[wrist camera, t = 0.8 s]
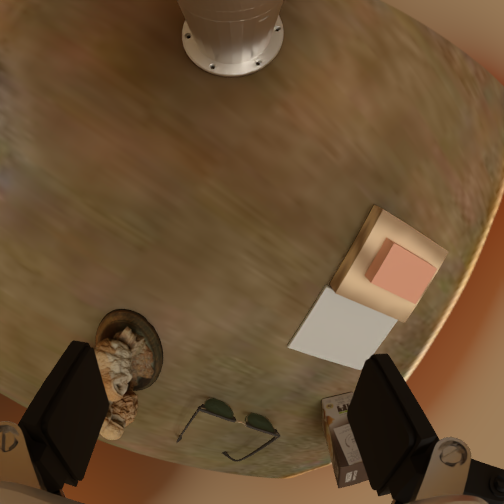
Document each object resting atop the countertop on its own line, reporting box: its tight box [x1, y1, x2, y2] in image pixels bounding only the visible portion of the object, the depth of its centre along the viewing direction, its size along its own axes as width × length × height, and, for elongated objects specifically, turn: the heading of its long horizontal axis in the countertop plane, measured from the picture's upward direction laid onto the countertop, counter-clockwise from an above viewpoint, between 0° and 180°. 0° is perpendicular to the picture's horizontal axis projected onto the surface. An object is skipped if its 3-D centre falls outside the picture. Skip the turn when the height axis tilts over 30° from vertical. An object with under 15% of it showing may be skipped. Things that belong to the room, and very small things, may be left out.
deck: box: [330, 205, 448, 323], centre depth 42 cm, size 13×14×3 cm
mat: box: [287, 285, 397, 370], centre depth 47 cm, size 12×15×1 cm
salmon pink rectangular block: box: [364, 237, 437, 304], centre depth 40 cm, size 6×9×2 cm, turn 65°
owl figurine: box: [94, 309, 163, 440], centre depth 40 cm, size 18×12×17 cm, turn 171°
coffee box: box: [322, 392, 369, 488], centre depth 47 cm, size 9×6×16 cm
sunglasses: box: [177, 398, 280, 461], centre depth 53 cm, size 16×17×5 cm
